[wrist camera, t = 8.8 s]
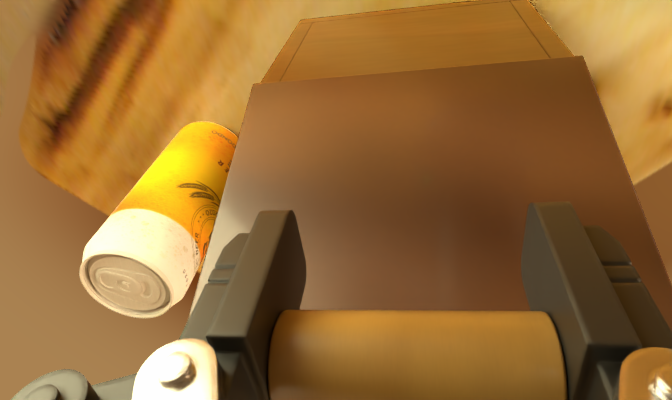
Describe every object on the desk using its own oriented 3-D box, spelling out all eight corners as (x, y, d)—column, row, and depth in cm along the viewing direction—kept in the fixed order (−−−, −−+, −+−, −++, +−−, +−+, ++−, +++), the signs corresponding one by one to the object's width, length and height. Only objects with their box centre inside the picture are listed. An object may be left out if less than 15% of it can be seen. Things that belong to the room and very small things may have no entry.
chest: (504, 194, 36) (535, 300, 28) (332, 200, 39) (311, 299, 30) (523, -6, 28) (577, 58, 19) (300, 19, 30) (257, 86, 22)
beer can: (245, 189, 39) (176, 333, 28) (176, 169, 39) (76, 306, 27) (256, 129, 36) (182, 266, 24) (180, 107, 35) (66, 234, 23)
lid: (752, 545, 10) (1022, 548, 5) (153, 493, 12) (-5, 466, 8) (578, 70, 19) (623, -73, 15) (258, 96, 22) (212, -19, 17)
